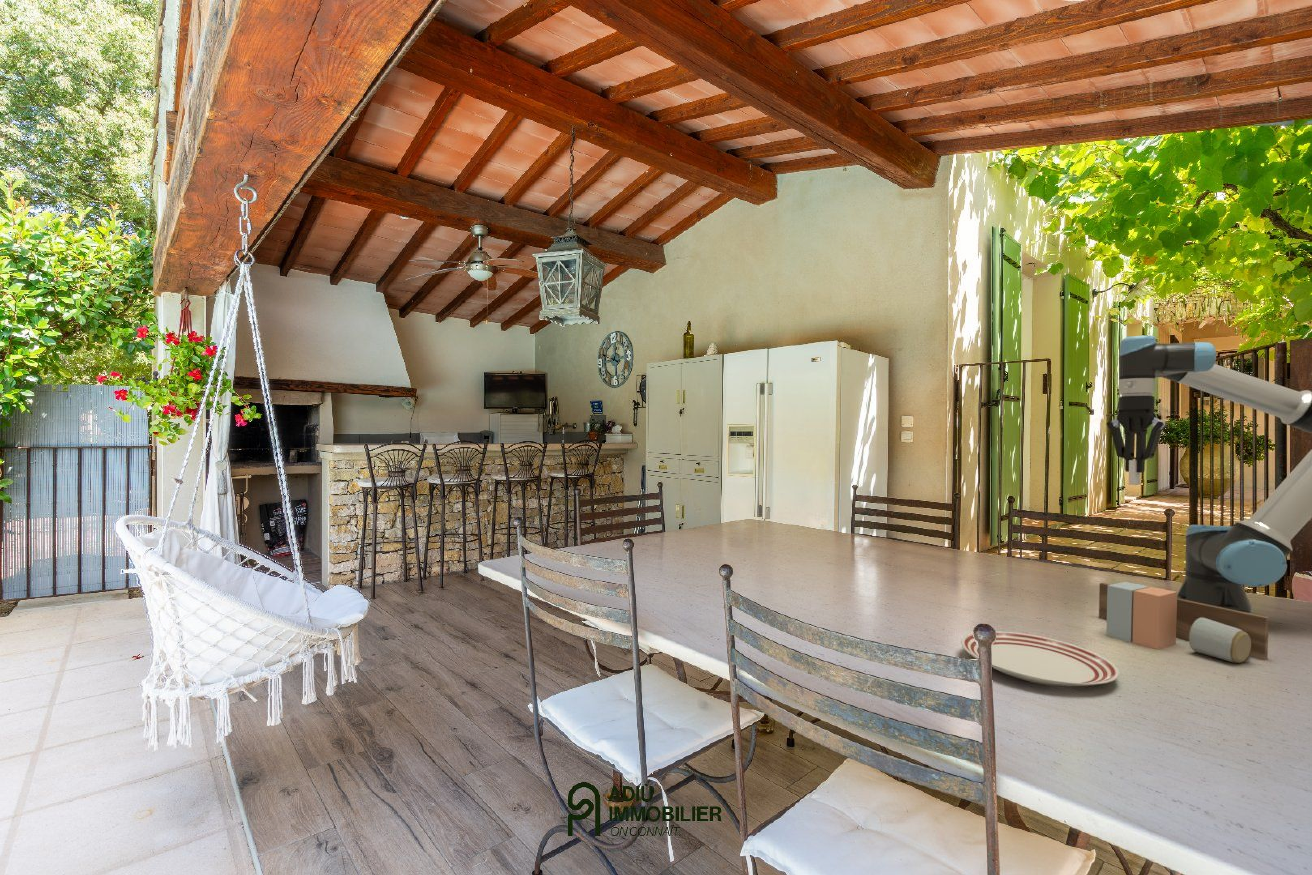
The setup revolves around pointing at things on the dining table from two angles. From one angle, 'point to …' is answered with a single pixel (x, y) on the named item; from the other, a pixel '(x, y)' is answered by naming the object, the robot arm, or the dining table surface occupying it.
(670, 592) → the dining table surface
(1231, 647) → the ceramic mug
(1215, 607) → the brown wooden board
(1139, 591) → the tan rectangular block
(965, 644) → the dinner plate
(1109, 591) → the light grey rectangular block
